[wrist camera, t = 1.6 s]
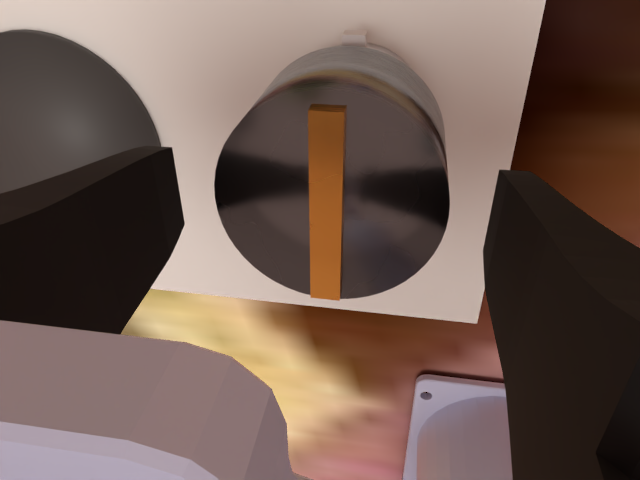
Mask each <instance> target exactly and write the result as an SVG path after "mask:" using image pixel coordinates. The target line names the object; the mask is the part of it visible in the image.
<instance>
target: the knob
mask: <svg viewBox="0 0 640 480" xmlns="http://www.w3.org/2000/svg"><path fill="white" fill-rule="evenodd" d="M214 191H215V201H216V206H217V211H218V214H219V217H220V220H221V223H222V225H223V227H224V229H225V231H226V233H227V235H228V237H229V238H230V240H231V241H232V243H233V244H234V246H235V247H236V248H237V250H238V251H239V252H240V253H241V255H242V256H243V257H244V258H245V259H246V260H247V261H248V262H249V263H250V264H251V265H252V266H253V267H255V268H256V269H257V270H259V271H260V272H261V273H262V274H264V275H265V276H267V277H268V278H270V279H272V280H273V281H275V282H277V283H279V284H281V285H283V286H285V287H287V288H289V289H292V290H295V291H297V292H300V293H304V294H307V295H311V298H318V299H328V300H337V301H340V299H353V298H361V297H367V296H371V295H375V294H378V293H382V292H384V291H387V290H389V289H392V288H394V287H396V286H398V285H400V284H401V283H403V282H405V281H407V280H408V279H409V278H411V277H412V276H413V275H415V274H416V273H417V272H418V271H419V270H420V269H421V268H422V267H424V266H425V265H426V263H427V262H428V261H429V260H430V258H431V257H432V256H433V255H434V253H435V251H436V250H437V248H438V246H439V245H440V243H441V241H442V238H443V236H444V233H445V231H446V227H447V223H448V218H449V209H450V196H449V183H448V169H447V156H446V142H445V130H444V123H443V118H442V114H441V111H440V109H439V106H438V103H437V101H436V99H435V97H434V96H433V94H432V92H431V90H430V89H429V88H428V86H427V85H426V84H425V82H424V81H423V80H422V79H421V78H420V77H419V76H418V75H417V74H416V73H415V72H414V71H413V70H412V69H411V68H409V67H408V66H407V65H405V64H404V63H403V62H401V61H399V60H398V59H396V58H394V57H392V56H391V55H388V54H386V53H383V52H380V51H378V50H374V49H370V48H366V47H359V46H334V47H328V48H323V49H319V50H316V51H313V52H310V53H308V54H306V55H304V56H302V57H300V58H298V59H297V60H295V61H294V62H292V63H291V64H289V65H288V66H287V67H286V68H284V69H283V70H282V71H281V72H280V73H279V74H278V75H277V76H276V78H275V79H274V80H273V81H272V82H271V84H270V85H269V86H268V87H267V89H266V90H265V91H264V92H263V94H262V95H261V96H260V97H259V99H258V100H257V101H256V102H255V104H254V105H253V106H252V107H251V109H250V110H249V111H248V112H247V114H246V115H245V116H244V117H243V119H242V120H241V121H240V122H239V124H238V125H237V126H236V127H235V129H234V130H233V131H232V132H231V134H230V136H229V137H228V139H227V140H226V142H225V144H224V146H223V148H222V151H221V153H220V155H219V158H218V162H217V166H216V170H215V180H214Z"/></svg>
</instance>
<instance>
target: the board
mask: <svg viewBox="0 0 640 480" xmlns="http://www.w3.org/2000/svg"><path fill="white" fill-rule="evenodd" d="M545 2H546V0H0V194H1V193H4V192H8V191H11V190H15V189H18V188H22V187H25V186H28V185H31V184H34V183H37V182H40V181H43V180H45V179H48V178H51V177H54V176H57V175H60V174H63V173H66V172H69V171H72V170H74V169H77V168H80V167H82V166H85V165H88V164H90V163H93V162H96V161H98V160H101V159H104V158H106V157H109V156H112V155H115V154H118V153H120V152H123V151H127V150H130V149H133V148H137V147H142V146H160V147H172V150H173V156H174V162H175V168H176V174H177V180H178V186H179V192H180V198H181V204H182V210H183V216H184V222H185V225H184V227H183V230H182V232H181V235H180V237H179V239H178V242H177V244H176V246H175V248H174V250H173V253H172V255H171V257H170V259H169V260H168V262H167V263H166V265H165V266H164V268H163V270H162V271H161V273H160V274H159V276H158V277H157V279H156V280H155V282H154V283H153V285H152V286H151V288H150V289H159V290H168V291H178V292H187V293H196V294H205V295H215V296H224V297H233V298H243V299H252V300H261V301H271V302H280V303H289V304H298V305H308V306H317V307H326V308H336V309H345V310H354V311H364V312H373V313H382V314H391V315H401V316H410V317H419V318H429V319H438V320H447V321H457V322H466V323H475V324H477V322H478V317H479V312H480V307H481V303H482V298H483V293H484V289H485V282H484V265H483V247H484V242H485V237H486V232H487V227H488V222H489V217H490V212H491V208H492V203H493V198H494V193H495V188H496V183H497V178H498V173H499V169H500V170H510V167H511V162H512V157H513V153H514V148H515V143H516V139H517V134H518V129H519V124H520V120H521V115H522V110H523V106H524V101H525V96H526V92H527V87H528V82H529V78H530V73H531V68H532V63H533V59H534V54H535V49H536V45H537V40H538V35H539V31H540V26H541V21H542V17H543V12H544V7H545ZM334 46H359V47H366V48H370V49H374V50H378V51H380V52H383V53H386V54H388V55H391V56H392V57H394V58H396V59H398V60H399V61H401V62H403V63H404V64H405V65H407V66H408V67H409V68H411V69H412V70H413V71H414V72H415V73H416V74H417V75H418V76H419V77H420V78H421V79H422V80H423V81H424V82H425V84H426V85H427V86H428V88H429V89H430V90H431V92H432V94H433V96H434V97H435V99H436V101H437V103H438V106H439V109H440V111H441V114H442V118H443V123H444V130H445V142H446V156H447V169H448V183H449V196H450V209H449V218H448V223H447V227H446V231H445V233H444V236H443V238H442V241H441V243H440V245H439V246H438V248H437V250H436V251H435V253H434V255H433V256H432V257H431V258H430V260H429V261H428V262H427V263H426V265H425V266H424V267H422V268H421V269H420V270H419V271H418V272H417V273H416V274H415V275H413V276H412V277H411V278H409V279H408V280H407V281H405V282H403V283H401V284H400V285H398V286H396V287H394V288H392V289H389V290H387V291H384V292H382V293H378V294H375V295H371V296H367V297H361V298H353V299H340V301H337V300H328V299H318V298H311V295H307V294H304V293H300V292H297V291H295V290H292V289H289V288H287V287H285V286H283V285H281V284H279V283H277V282H275V281H273V280H272V279H270V278H268V277H267V276H265V275H264V274H262V273H261V272H260V271H259V270H257V269H256V268H255V267H253V266H252V265H251V264H250V263H249V262H248V261H247V260H246V259H245V258H244V257H243V256H242V255H241V253H240V252H239V251H238V250H237V248H236V247H235V246H234V244H233V243H232V241H231V240H230V238H229V237H228V235H227V233H226V231H225V229H224V227H223V225H222V223H221V220H220V217H219V214H218V211H217V206H216V201H215V191H214V180H215V170H216V166H217V162H218V158H219V155H220V153H221V151H222V148H223V146H224V144H225V142H226V140H227V139H228V137H229V136H230V134H231V132H232V131H233V130H234V129H235V127H236V126H237V125H238V124H239V122H240V121H241V120H242V119H243V117H244V116H245V115H246V114H247V112H248V111H249V110H250V109H251V107H252V106H253V105H254V104H255V102H256V101H257V100H258V99H259V97H260V96H261V95H262V94H263V92H264V91H265V90H266V89H267V87H268V86H269V85H270V84H271V82H272V81H273V80H274V79H275V78H276V76H277V75H278V74H279V73H280V72H281V71H282V70H283V69H284V68H286V67H287V66H288V65H289V64H291V63H292V62H294V61H295V60H297V59H298V58H300V57H302V56H304V55H306V54H308V53H310V52H313V51H316V50H319V49H323V48H328V47H334Z"/></svg>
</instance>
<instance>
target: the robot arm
mask: <svg viewBox="0 0 640 480" xmlns="http://www.w3.org/2000/svg"><path fill="white" fill-rule="evenodd" d="M184 225H185V222H184V216H183V210H182V204H181V198H180V192H179V186H178V180H177V174H176V168H175V162H174V156H173V150H172V147H160V146H142V147H137V148H133V149H130V150H127V151H123V152H120V153H118V154H115V155H112V156H109V157H106V158H104V159H101V160H98V161H96V162H93V163H90V164H88V165H85V166H82V167H80V168H77V169H74V170H72V171H69V172H66V173H63V174H60V175H57V176H54V177H51V178H48V179H45V180H43V181H40V182H37V183H34V184H31V185H28V186H25V187H22V188H18V189H15V190H11V191H8V192H4V193H1V194H0V480H312V479H309V478H307V477H304V476H301V475H299V474H296V473H293V472H292V469H291V465H290V461H289V457H288V440H287V423H286V421H285V419H284V417H283V414H282V412H281V410H280V407H279V405H278V403H277V401H276V398H275V396H274V394H273V392H272V389H271V388H270V387H269V386H268V385H267V384H265V383H264V382H263V381H262V380H260V379H259V378H258V377H257V376H255V375H254V374H253V373H251V372H250V371H249V370H248V369H246V368H245V367H244V366H243V365H241V364H240V363H239V362H237V361H236V360H235V359H234V358H232V357H231V356H228V355H225V354H221V353H218V352H215V351H212V350H209V349H205V348H202V347H199V346H196V345H192V344H189V343H186V342H178V341H170V340H162V339H153V338H145V337H136V336H128V335H120V334H121V332H122V330H123V329H124V327H125V325H126V324H127V322H128V321H129V319H130V318H131V316H132V315H133V313H134V312H135V310H136V309H137V307H138V306H139V304H140V303H141V301H142V300H143V298H144V297H145V295H146V294H147V292H148V291H149V289H150V288H151V286H152V285H153V283H154V282H155V280H156V279H157V277H158V276H159V274H160V273H161V271H162V270H163V268H164V266H165V265H166V263H167V262H168V260H169V259H170V257H171V255H172V253H173V250H174V248H175V246H176V244H177V242H178V239H179V237H180V235H181V232H182V230H183V227H184ZM483 265H484V282H485V291H486V296H487V301H488V306H489V311H490V315H491V320H492V325H493V329H494V334H495V339H496V343H497V348H498V353H499V357H500V362H501V367H502V372H503V378H504V383H496V382H488V381H479V380H471V379H463V378H455V377H446V376H438V375H430V374H424V375H421V376H419V377H418V378H417V380H416V384H415V391H414V399H413V406H412V413H411V420H410V427H409V434H408V441H407V448H406V455H405V463H404V470H403V477H402V480H640V248H639V247H637V246H635V245H633V244H632V243H630V242H628V241H627V240H625V239H623V238H622V237H620V236H619V235H617V234H616V233H614V232H612V231H611V230H609V229H608V228H606V227H605V226H603V225H602V224H600V223H599V222H597V221H596V220H595V219H593V218H592V217H590V216H589V215H588V214H586V213H585V212H583V211H582V210H581V209H579V208H578V207H577V206H575V205H574V204H573V203H571V202H570V201H569V200H568V199H566V198H565V197H564V196H562V195H561V194H560V193H559V192H557V191H556V190H555V189H554V188H552V187H551V186H550V185H548V184H547V183H546V182H545V181H543V180H542V179H541V178H539V177H538V176H536V175H535V174H533V173H532V172H530V171H515V170H500V169H499V173H498V178H497V183H496V188H495V193H494V198H493V203H492V208H491V212H490V217H489V222H488V227H487V232H486V237H485V242H484V247H483ZM424 392H429V393H424Z"/></svg>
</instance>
